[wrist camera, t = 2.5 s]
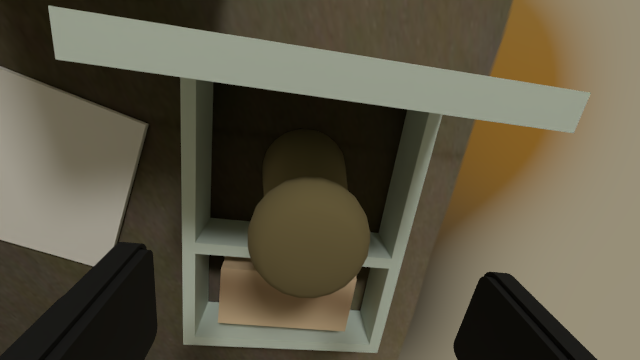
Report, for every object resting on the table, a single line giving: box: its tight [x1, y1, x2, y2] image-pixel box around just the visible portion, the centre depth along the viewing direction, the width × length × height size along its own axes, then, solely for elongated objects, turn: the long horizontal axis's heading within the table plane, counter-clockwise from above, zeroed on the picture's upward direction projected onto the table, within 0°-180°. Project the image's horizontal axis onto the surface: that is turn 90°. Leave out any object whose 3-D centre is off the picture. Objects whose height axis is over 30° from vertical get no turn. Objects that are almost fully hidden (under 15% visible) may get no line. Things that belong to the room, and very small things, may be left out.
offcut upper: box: [218, 256, 357, 331], centre depth 22 cm, size 5×9×2 cm, turn 81°
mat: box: [0, 66, 149, 266], centre depth 20 cm, size 12×12×1 cm
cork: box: [248, 129, 370, 298], centre depth 16 cm, size 6×6×11 cm
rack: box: [48, 6, 591, 353], centre depth 17 cm, size 20×15×12 cm
